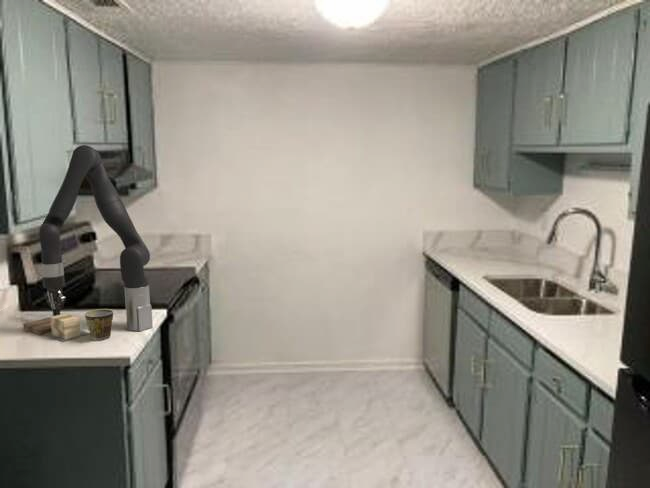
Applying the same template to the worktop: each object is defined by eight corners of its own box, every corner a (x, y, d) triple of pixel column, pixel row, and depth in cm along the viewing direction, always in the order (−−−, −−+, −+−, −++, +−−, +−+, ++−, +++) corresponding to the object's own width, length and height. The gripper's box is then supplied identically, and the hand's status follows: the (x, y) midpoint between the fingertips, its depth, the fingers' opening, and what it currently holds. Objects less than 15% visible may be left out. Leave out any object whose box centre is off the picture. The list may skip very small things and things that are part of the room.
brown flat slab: (70, 327, 222) (70, 322, 222) (40, 335, 213) (40, 330, 212) (53, 321, 230) (52, 316, 230) (23, 328, 221) (23, 323, 221)
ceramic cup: (89, 334, 213) (87, 309, 211) (116, 332, 215) (114, 307, 213) (83, 346, 200) (80, 319, 199) (112, 343, 203) (110, 317, 201)
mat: (89, 333, 214) (89, 333, 214) (62, 341, 205) (62, 341, 205) (70, 327, 222) (70, 326, 222) (43, 334, 213) (43, 333, 213)
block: (80, 335, 211) (78, 317, 210) (65, 339, 207) (63, 321, 206) (66, 330, 217) (65, 313, 216) (51, 334, 213) (50, 316, 212)
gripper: (71, 274, 211) (75, 318, 214) (54, 270, 219) (57, 312, 222) (52, 278, 206) (56, 323, 208) (34, 273, 213) (38, 317, 216)
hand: (56, 317), depth 215 cm, fingers closed
